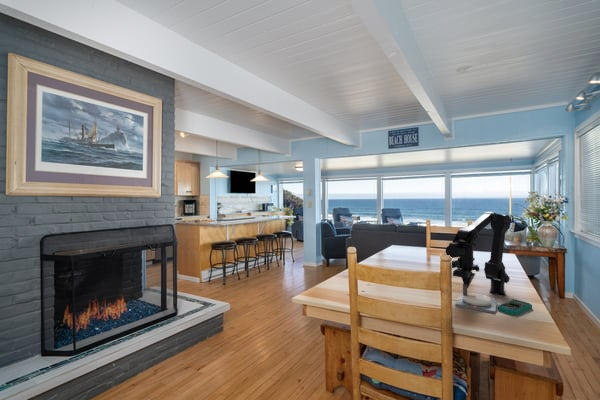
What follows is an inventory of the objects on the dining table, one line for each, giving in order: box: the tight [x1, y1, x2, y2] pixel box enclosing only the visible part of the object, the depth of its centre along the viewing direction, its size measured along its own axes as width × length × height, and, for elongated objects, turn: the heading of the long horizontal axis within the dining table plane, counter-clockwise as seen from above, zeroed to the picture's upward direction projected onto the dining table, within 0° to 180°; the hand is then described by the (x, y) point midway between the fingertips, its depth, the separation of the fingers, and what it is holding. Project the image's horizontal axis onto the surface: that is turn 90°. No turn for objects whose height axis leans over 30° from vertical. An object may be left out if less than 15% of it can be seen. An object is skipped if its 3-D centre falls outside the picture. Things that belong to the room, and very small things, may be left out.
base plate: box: [454, 293, 498, 315], centre depth 132 cm, size 16×15×1 cm
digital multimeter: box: [496, 299, 533, 317], centre depth 126 cm, size 7×15×3 cm, turn 120°
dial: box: [462, 283, 492, 306], centre depth 132 cm, size 11×11×7 cm
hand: (466, 288), depth 139 cm, fingers closed
